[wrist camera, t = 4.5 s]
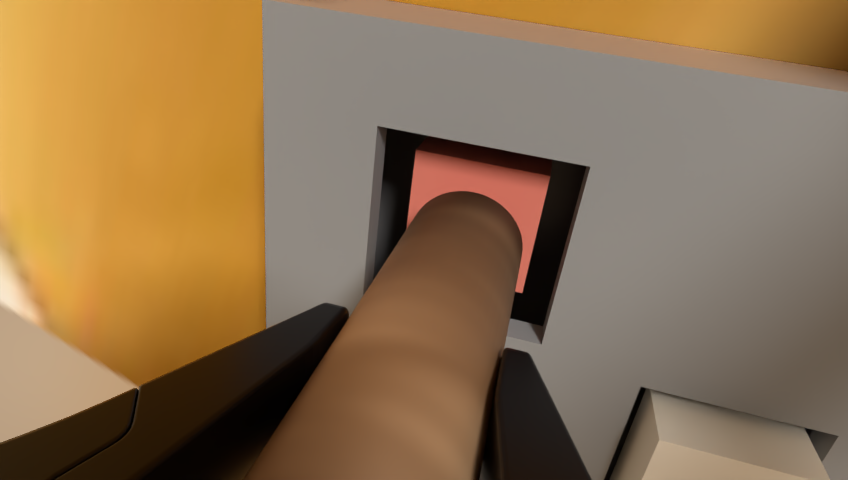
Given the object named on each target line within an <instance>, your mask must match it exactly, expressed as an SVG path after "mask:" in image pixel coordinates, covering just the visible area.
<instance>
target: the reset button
mask: <svg viewBox="0 0 848 480" xmlns="http://www.w3.org/2000/svg"><path fill="white" fill-rule="evenodd" d="M551 167H552V159H547V158H542V157H537V156H531V155H526V154H521V153H516V152H511V151H505V150H500V149H495V148H490V147H484V146H479V145H474V144H469V143H464V142H458V141H453V140H448V139H443V138H438V137H432V136H428V137H427V138H426V139H425V140H424V141H423V142H422V143H421V145H420V146H419V147H418V148H417V149H416V153H415V161H414V170H413V178H412V186H411V195H410V203H409V212H408V220H407V228H408V226H409V225H410V223H411V222H412V220H413V219H414V217H415V216H416V214H417V213H418V211H419V210H420V209H421V208H422V207H423V206H424V205H425V204H426V203H427V202H428V201H430V200H431V199H433V198H435V197H437V196H439V195H441V194H444V193H448V192H454V191H469V192H475V193H479V194H482V195H485V196H487V197H489V198H491V199H493V200H495V201H496V202H498V203H499V204H501V205H502V206H503V207H504V208H505V209H506V210H507V211H508V212H509V213H510V214H511V215H512V217H513V218H514V220H515V221H516V223H517V225H518V227H519V230H520V233H521V236H522V243H523V251H522V258H521V263H520V268H519V274H518V279H517V284H516V289H515V292H519V293H522V292H523V288H524V284H525V279H526V275H527V271H528V267H529V263H530V259H531V255H532V251H533V246H534V242H535V238H536V234H537V230H538V226H539V222H540V217H541V213H542V209H543V205H544V201H545V197H546V193H547V188H548V184H549V180H550V176H551ZM407 228H406V230H407Z"/></svg>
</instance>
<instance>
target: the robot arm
mask: <svg viewBox="0 0 848 480" xmlns="http://www.w3.org/2000/svg"><path fill="white" fill-rule="evenodd" d="M348 318H349V311H348V309H347V308H346V307H343V306H339V305H335V304H331V303H322V304H320V305H317V306H315V307H313V308H311V309H309V310H306V311H304V312H302V313H300V314H298V315H295V316H293V317H291V318H289V319H286V320H284V321H282V322H280V323H278V324H275V325H273V326H271V327H269V328H267V329H264V330H262V331H260V332H258V333H255V334H253V335H251V336H249V337H247V338H244V339H242V340H240V341H238V342H236V343H233V344H231V345H229V346H227V347H224V348H222V349H220V350H218V351H216V352H213V353H211V354H209V355H207V356H205V357H202V358H200V359H198V360H196V361H193V362H191V363H189V364H187V365H185V366H182V367H180V368H178V369H176V370H174V371H171V372H169V373H167V374H165V375H162V376H160V377H158V378H156V379H154V380H151V381H149V382H147V383H145V384H143V385H141V386H140V387H139V390H138V389H137V388H133V389H131V390H129V391H127V392H124V393H122V394H120V395H118V396H116V397H113V398H111V399H109V400H107V401H104V402H102V403H100V404H97V405H95V406H93V407H90V408H88V409H86V410H83V411H81V412H79V413H76V414H74V415H72V416H69V417H67V418H64V419H61V420H59V421H57V422H54V423H51V424H49V425H46V426H44V427H41V428H38V429H36V430H33V431H31V432H28V433H25V434H23V435H20V436H18V437H15V438H12V439H9V440H7V441H4V442H1V443H0V480H243V479H244V478H245V476H246V475H247V473H248V471H249V470H250V468H251V467H252V465H253V464H254V462H255V461H256V459H257V458H258V456H259V455H260V453H261V452H262V450H263V448H264V447H265V445H266V444H267V442H268V441H269V439H270V438H271V436H272V435H273V433H274V432H275V430H276V429H277V427H278V426H279V424H280V422H281V421H282V419H283V418H284V416H285V415H286V413H287V412H288V410H289V409H290V407H291V406H292V404H293V403H294V401H295V399H296V398H297V396H298V395H299V393H300V392H301V390H302V389H303V387H304V386H305V384H306V383H307V381H308V380H309V378H310V377H311V375H312V373H313V372H314V370H315V369H316V367H317V366H318V364H319V363H320V361H321V360H322V358H323V357H324V355H325V354H326V352H327V350H328V349H329V347H330V346H331V344H332V343H333V341H334V340H335V338H336V337H337V335H338V334H339V332H340V331H341V329H342V328H343V326H344V324H345V323H346V321H347V320H348ZM479 480H592V479H591V477H590V475H589V473H588V471H587V469H586V467H585V465H584V462H583V460H582V458H581V456H580V454H579V452H578V450H577V448H576V446H575V444H574V442H573V440H572V438H571V436H570V434H569V432H568V430H567V428H566V426H565V424H564V422H563V420H562V418H561V416H560V414H559V412H558V410H557V407H556V405H555V403H554V401H553V399H552V397H551V395H550V393H549V391H548V389H547V387H546V385H545V383H544V381H543V379H542V377H541V375H540V373H539V371H538V369H537V367H536V365H535V363H534V361H533V359H532V357H531V355H530V354H529V353H528V352H524V351H520V350H516V349H512V348H505V349H504V350H503V353H502V357H501V362H500V367H499V372H498V377H497V382H496V387H495V393H494V398H493V403H492V408H491V413H490V419H489V426H488V434H487V441H486V447H485V453H484V458H483V464H482V469H481V474H480V479H479Z"/></svg>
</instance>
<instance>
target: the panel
mask: <svg viewBox="0 0 848 480" xmlns="http://www.w3.org/2000/svg"><path fill="white" fill-rule="evenodd" d="M262 14H263V97H264V180H265V263H266V329H267V328H269V327H271V326H273V325H275V324H278V323H280V322H282V321H284V320H286V319H289V318H291V317H293V316H295V315H298V314H300V313H302V312H304V311H306V310H309V309H311V308H313V307H315V306H317V305H320V304H322V303H331V304H335V305H339V306H343V307H346V308H347V309H348V311H349V317H350V315H351V314H352V312H353V311H354V309H355V308H356V306H357V305H358V303H359V301H360V300H361V298H362V297H363V295H364V294H365V292H366V291H367V289H368V288H369V286H370V285H371V283H372V282H373V280H374V279H375V277H376V275H377V274H378V272H379V271H380V269H381V268H382V266H383V265H384V263H385V262H386V260H387V259H388V257H389V256H390V254H391V252H392V251H393V249H394V248H395V246H396V245H397V243H398V242H399V240H400V239H401V237H402V236H403V234H404V233H405V231H406V228H407V220H408V212H409V203H410V195H411V186H412V178H413V170H414V161H415V153H416V149H417V148H418V147H419V146H420V145H421V143H422V142H423V141H424V140H425V139H426V138H427V137H428V136H432V137H438V138H443V139H448V140H453V141H458V142H464V143H469V144H474V145H479V146H484V147H490V148H495V149H500V150H505V151H511V152H516V153H521V154H526V155H531V156H537V157H542V158H547V159H552V167H551V176H550V180H549V184H548V188H547V193H546V197H545V201H544V205H543V209H542V213H541V217H540V222H539V226H538V230H537V234H536V238H535V242H534V246H533V251H532V255H531V259H530V263H529V267H528V271H527V275H526V279H525V284H524V288H523V292H522V293H519V292H515V295H514V300H513V305H512V311H511V316H510V321H509V326H508V332H507V337H506V342H505V347H504V349H505V348H512V349H516V350H520V351H524V352H528V353H529V354H530V355H531V357H532V359H533V361H534V363H535V365H536V367H537V369H538V371H539V373H540V375H541V377H542V379H543V381H544V383H545V385H546V387H547V389H548V391H549V393H550V395H551V397H552V399H553V401H554V403H555V405H556V407H557V410H558V412H559V414H560V416H561V418H562V420H563V422H564V424H565V426H566V428H567V430H568V432H569V434H570V436H571V438H572V440H573V442H574V444H575V446H576V448H577V450H578V452H579V454H580V456H581V458H582V460H583V462H584V465H585V467H586V469H587V471H588V473H589V475H590V477H591V479H592V480H610V477H611V475H612V472H613V470H614V467H615V465H616V462H617V460H618V457H619V455H620V452H621V450H622V447H623V445H624V443H625V440H626V438H627V435H628V433H629V430H630V428H631V425H632V423H633V420H634V418H635V415H636V413H637V410H638V408H639V405H640V403H641V400H642V398H643V395H644V393H645V390H646V388H648V389H652V390H656V391H660V392H664V393H668V394H672V395H676V396H680V397H684V398H688V399H692V400H696V401H700V402H704V403H708V404H712V405H716V406H720V407H724V408H728V409H732V410H736V411H740V412H744V413H748V414H752V415H756V416H760V417H764V418H768V419H772V420H776V421H780V422H784V423H788V424H792V425H796V426H800V427H804V428H805V430H806V432H807V434H808V436H809V438H810V440H811V442H812V444H813V446H814V448H815V450H816V452H817V454H818V456H819V458H820V460H821V462H822V464H823V466H824V468H825V470H826V472H827V474H828V476H829V478H830V480H848V71H843V70H836V69H830V68H823V67H817V66H810V65H803V64H797V63H790V62H784V61H777V60H771V59H764V58H758V57H751V56H745V55H738V54H732V53H725V52H719V51H712V50H706V49H699V48H693V47H686V46H680V45H673V44H667V43H660V42H654V41H647V40H641V39H634V38H628V37H621V36H615V35H608V34H602V33H595V32H589V31H582V30H576V29H569V28H563V27H556V26H550V25H543V24H537V23H530V22H524V21H517V20H511V19H504V18H498V17H491V16H485V15H478V14H472V13H465V12H459V11H452V10H446V9H439V8H433V7H426V6H420V5H413V4H407V3H400V2H394V1H387V0H262Z"/></svg>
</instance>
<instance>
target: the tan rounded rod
mask: <svg viewBox="0 0 848 480" xmlns="http://www.w3.org/2000/svg"><path fill="white" fill-rule="evenodd" d="M522 251H523V243H522V236H521V233H520V230H519V227H518V225H517V223H516V221H515V220H514V218H513V217H512V215H511V214H510V213H509V212H508V211H507V210H506V209H505V208H504V207H503V206H502V205H501V204H499V203H498V202H496V201H495V200H493V199H491V198H489V197H487V196H485V195H482V194H479V193H475V192H469V191H454V192H448V193H444V194H441V195H439V196H437V197H435V198H433V199H431V200H430V201H428V202H427V203H426V204H425V205H424V206H423V207H422V208H421V209H420V210H419V211H418V213H417V214H416V216H415V217H414V219H413V220H412V222H411V223H410V225H409V226H408V228H407V230H406V231H405V233H404V234H403V236H402V237H401V239H400V240H399V242H398V243H397V245H396V246H395V248H394V249H393V251H392V252H391V254H390V256H389V257H388V259H387V260H386V262H385V263H384V265H383V266H382V268H381V269H380V271H379V272H378V274H377V275H376V277H375V279H374V280H373V282H372V283H371V285H370V286H369V288H368V289H367V291H366V292H365V294H364V295H363V297H362V298H361V300H360V301H359V303H358V305H357V306H356V308H355V309H354V311H353V312H352V314H351V315H350V317H349V318H348V320H347V321H346V323H345V324H344V326H343V328H342V329H341V331H340V332H339V334H338V335H337V337H336V338H335V340H334V341H333V343H332V344H331V346H330V347H329V349H328V350H327V352H326V354H325V355H324V357H323V358H322V360H321V361H320V363H319V364H318V366H317V367H316V369H315V370H314V372H313V373H312V375H311V377H310V378H309V380H308V381H307V383H306V384H305V386H304V387H303V389H302V390H301V392H300V393H299V395H298V396H297V398H296V399H295V401H294V403H293V404H292V406H291V407H290V409H289V410H288V412H287V413H286V415H285V416H284V418H283V419H282V421H281V422H280V424H279V426H278V427H277V429H276V430H275V432H274V433H273V435H272V436H271V438H270V439H269V441H268V442H267V444H266V445H265V447H264V448H263V450H262V452H261V453H260V455H259V456H258V458H257V459H256V461H255V462H254V464H253V465H252V467H251V468H250V470H249V471H248V473H247V475H246V476H245V478H244V479H243V480H479V479H480V474H481V469H482V464H483V458H484V453H485V447H486V441H487V434H488V426H489V419H490V413H491V408H492V403H493V398H494V393H495V387H496V382H497V377H498V372H499V367H500V362H501V357H502V353H503V350H504V347H505V342H506V337H507V332H508V326H509V321H510V316H511V311H512V305H513V300H514V295H515V289H516V284H517V279H518V274H519V268H520V263H521V258H522Z"/></svg>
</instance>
